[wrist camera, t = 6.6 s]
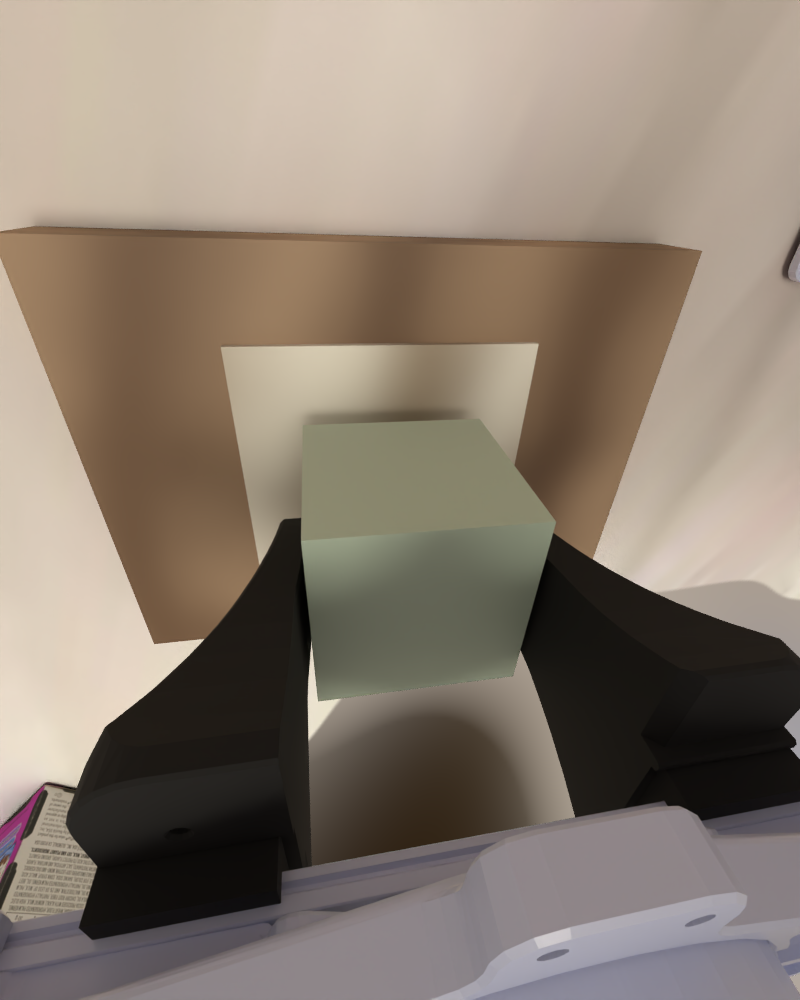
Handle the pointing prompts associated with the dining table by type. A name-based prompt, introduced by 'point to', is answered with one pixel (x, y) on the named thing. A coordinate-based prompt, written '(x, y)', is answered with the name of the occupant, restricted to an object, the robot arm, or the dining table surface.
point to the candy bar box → (43, 859)
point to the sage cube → (416, 555)
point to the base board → (327, 374)
